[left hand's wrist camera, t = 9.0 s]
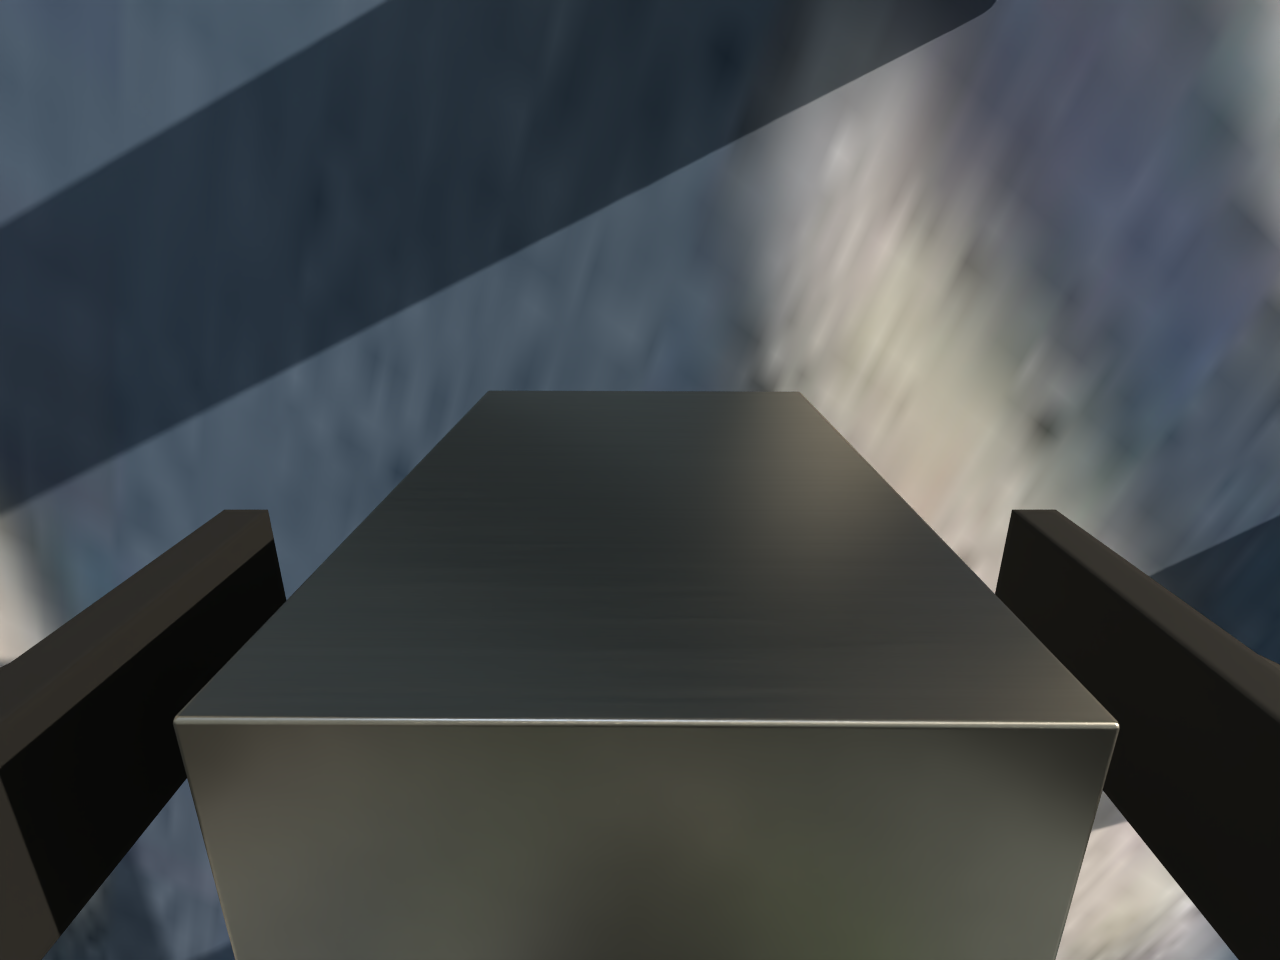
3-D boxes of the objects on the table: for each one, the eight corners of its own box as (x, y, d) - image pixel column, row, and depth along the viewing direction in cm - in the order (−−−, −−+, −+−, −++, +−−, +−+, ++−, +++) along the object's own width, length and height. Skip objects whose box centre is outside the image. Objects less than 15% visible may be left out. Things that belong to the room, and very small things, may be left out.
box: (487, 390, 18) (167, 719, 6) (800, 391, 18) (1124, 723, 6) (530, 998, 26) (428, 1696, 13) (752, 999, 26) (851, 1700, 13)
